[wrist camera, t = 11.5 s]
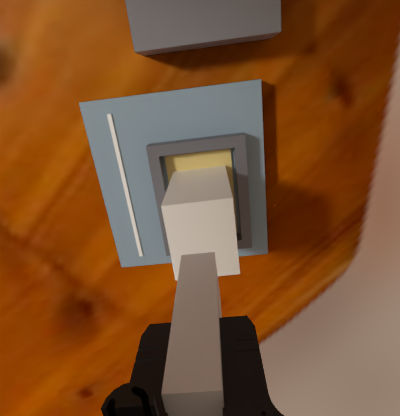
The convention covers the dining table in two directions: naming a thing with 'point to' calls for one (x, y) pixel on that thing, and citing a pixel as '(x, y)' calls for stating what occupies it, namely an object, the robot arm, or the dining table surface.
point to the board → (177, 160)
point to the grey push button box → (200, 23)
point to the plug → (201, 217)
